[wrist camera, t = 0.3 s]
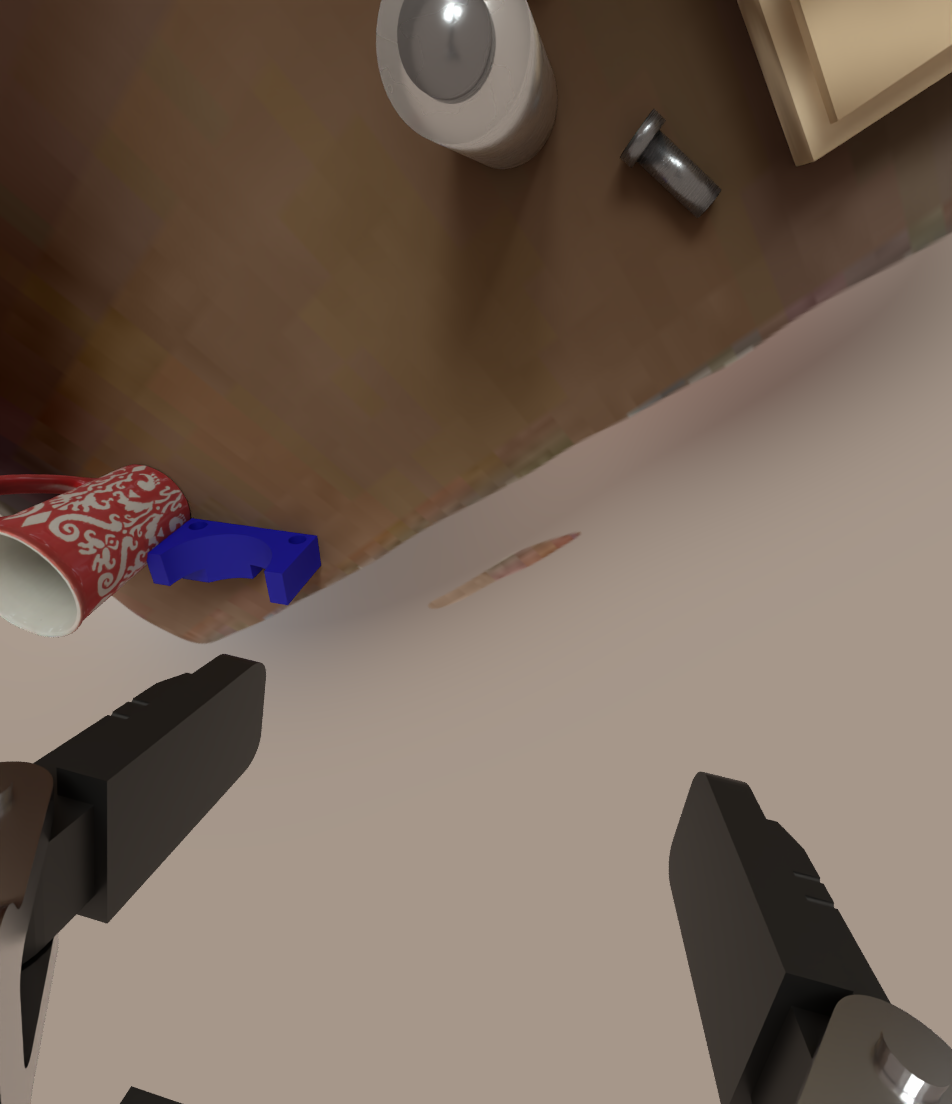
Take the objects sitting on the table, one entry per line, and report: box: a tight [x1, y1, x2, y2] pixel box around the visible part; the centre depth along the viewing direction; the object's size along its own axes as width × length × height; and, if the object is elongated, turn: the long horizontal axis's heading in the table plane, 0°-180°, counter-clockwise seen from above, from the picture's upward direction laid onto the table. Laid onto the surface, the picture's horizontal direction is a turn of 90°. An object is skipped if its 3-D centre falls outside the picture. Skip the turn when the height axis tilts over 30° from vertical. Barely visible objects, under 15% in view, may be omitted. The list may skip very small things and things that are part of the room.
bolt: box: [620, 109, 721, 218], centre depth 28 cm, size 5×2×2 cm, turn 55°
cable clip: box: [146, 518, 321, 605], centre depth 46 cm, size 12×4×6 cm, turn 89°
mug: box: [0, 464, 190, 637], centre depth 43 cm, size 13×9×14 cm
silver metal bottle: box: [376, 0, 558, 169], centre depth 24 cm, size 6×6×13 cm
